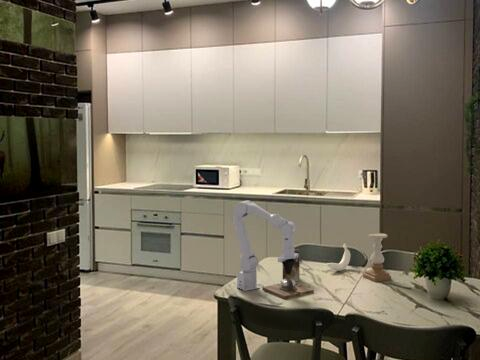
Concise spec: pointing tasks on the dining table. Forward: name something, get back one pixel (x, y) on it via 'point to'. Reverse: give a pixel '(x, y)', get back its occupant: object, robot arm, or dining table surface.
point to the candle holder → (377, 260)
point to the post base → (287, 291)
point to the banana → (343, 263)
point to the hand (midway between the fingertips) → (288, 274)
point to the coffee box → (293, 269)
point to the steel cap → (288, 283)
